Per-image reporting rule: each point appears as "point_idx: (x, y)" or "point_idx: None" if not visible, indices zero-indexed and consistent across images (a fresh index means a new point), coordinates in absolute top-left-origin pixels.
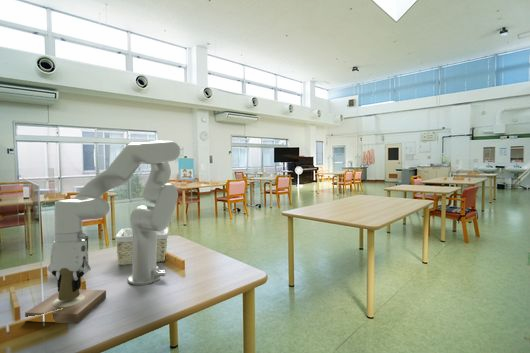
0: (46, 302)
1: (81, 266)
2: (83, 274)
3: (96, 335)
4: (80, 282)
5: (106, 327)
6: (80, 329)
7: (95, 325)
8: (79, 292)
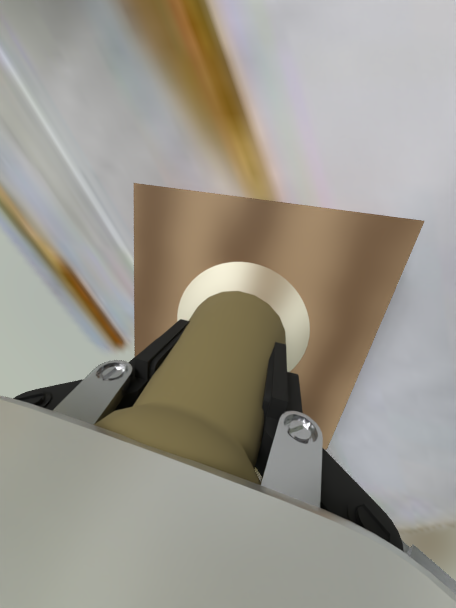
0: (155, 329)
1: (298, 502)
2: (351, 493)
3: (409, 495)
4: (300, 397)
5: (439, 468)
6: (343, 451)
7: (392, 446)
8: (279, 324)
